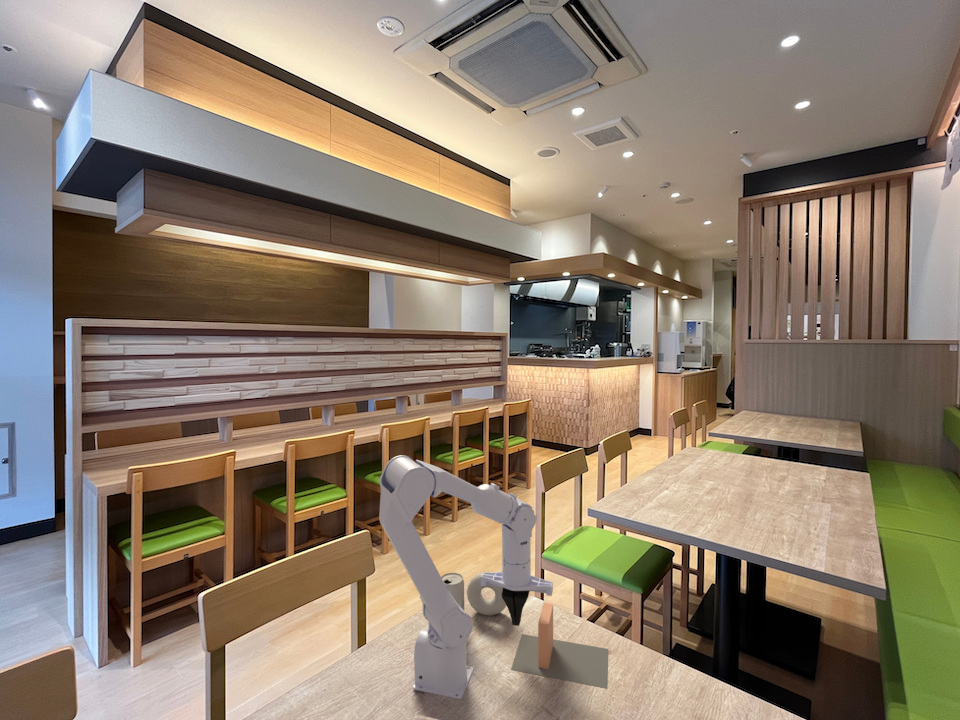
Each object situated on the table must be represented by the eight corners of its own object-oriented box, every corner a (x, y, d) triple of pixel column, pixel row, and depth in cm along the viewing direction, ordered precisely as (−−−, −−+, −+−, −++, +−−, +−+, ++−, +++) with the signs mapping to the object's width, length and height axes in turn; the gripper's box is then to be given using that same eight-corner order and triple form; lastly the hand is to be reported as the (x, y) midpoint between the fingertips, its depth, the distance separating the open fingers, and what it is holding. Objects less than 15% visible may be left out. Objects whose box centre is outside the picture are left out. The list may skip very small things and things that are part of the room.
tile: (538, 667, 92) (538, 622, 91) (543, 644, 98) (543, 602, 98) (548, 669, 91) (548, 624, 90) (553, 645, 98) (553, 604, 97)
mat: (511, 671, 91) (511, 669, 91) (521, 635, 102) (521, 633, 102) (607, 690, 86) (607, 688, 86) (608, 650, 97) (608, 648, 97)
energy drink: (435, 630, 103) (434, 578, 103) (454, 620, 107) (453, 569, 106) (450, 642, 100) (449, 588, 99) (469, 631, 103) (469, 578, 102)
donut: (510, 611, 110) (510, 570, 110) (509, 620, 107) (508, 578, 106) (468, 608, 112) (467, 567, 111) (465, 617, 108) (465, 575, 108)
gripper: (554, 553, 97) (554, 616, 98) (486, 545, 101) (487, 605, 102) (550, 570, 90) (550, 638, 91) (477, 560, 94) (478, 625, 95)
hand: (516, 622), depth 96 cm, fingers closed
